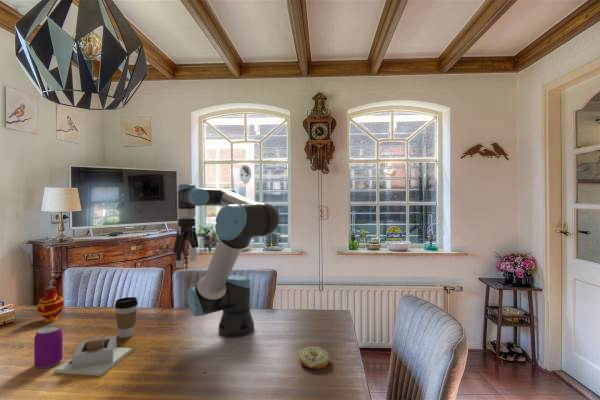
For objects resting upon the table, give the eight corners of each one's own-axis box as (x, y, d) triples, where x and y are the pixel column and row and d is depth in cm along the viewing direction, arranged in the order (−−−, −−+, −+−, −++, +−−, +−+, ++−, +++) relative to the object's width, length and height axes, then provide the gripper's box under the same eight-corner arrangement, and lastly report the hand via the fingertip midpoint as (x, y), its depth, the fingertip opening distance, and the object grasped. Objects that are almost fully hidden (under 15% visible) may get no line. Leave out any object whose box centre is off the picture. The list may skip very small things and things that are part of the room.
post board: (131, 351, 117) (131, 329, 117) (100, 375, 101) (100, 350, 101) (91, 349, 119) (91, 327, 119) (54, 372, 103) (54, 347, 103)
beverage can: (31, 364, 108) (31, 329, 108) (59, 355, 114) (59, 322, 114) (37, 372, 103) (36, 335, 103) (65, 362, 109) (65, 328, 109)
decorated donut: (311, 374, 103) (311, 363, 103) (293, 360, 112) (293, 350, 112) (335, 364, 109) (335, 354, 109) (316, 352, 118) (316, 342, 118)
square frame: (116, 347, 118) (116, 335, 118) (112, 362, 107) (112, 349, 107) (80, 353, 113) (80, 341, 113) (72, 369, 103) (72, 356, 103)
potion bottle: (68, 318, 148) (68, 286, 148) (41, 326, 140) (41, 292, 139) (59, 313, 154) (59, 283, 154) (32, 320, 145) (32, 288, 145)
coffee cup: (127, 340, 126) (127, 303, 126) (109, 338, 128) (109, 301, 128) (142, 331, 135) (142, 296, 134) (125, 329, 136) (125, 295, 136)
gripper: (190, 216, 157) (190, 258, 157) (164, 219, 132) (164, 270, 132) (205, 216, 156) (205, 259, 156) (181, 220, 131) (181, 271, 131)
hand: (186, 264), depth 144 cm, fingers open, 13 cm apart
